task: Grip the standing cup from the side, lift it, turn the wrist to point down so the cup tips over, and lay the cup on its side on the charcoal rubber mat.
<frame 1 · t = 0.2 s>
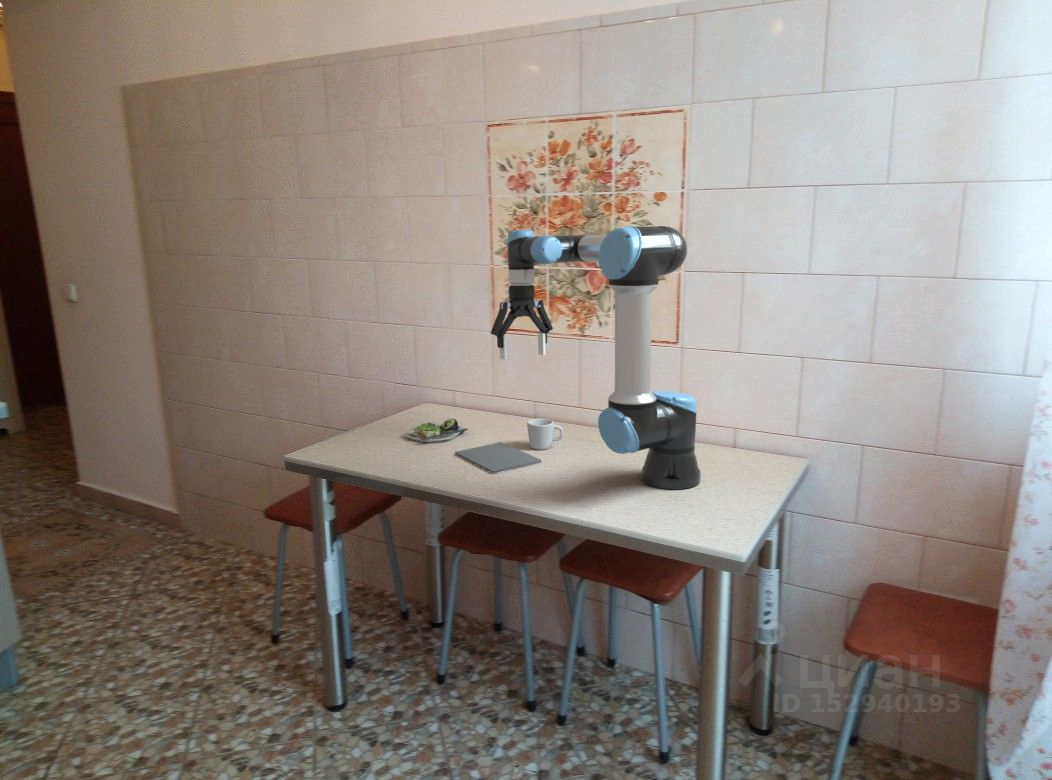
hand: (523, 356, 217), 27 cm above the table, tool pointing down, fingers open, 13 cm apart
avocado toast plate: (436, 436, 234), on the table
cup: (545, 448, 220), on the table
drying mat: (497, 458, 210), on the table
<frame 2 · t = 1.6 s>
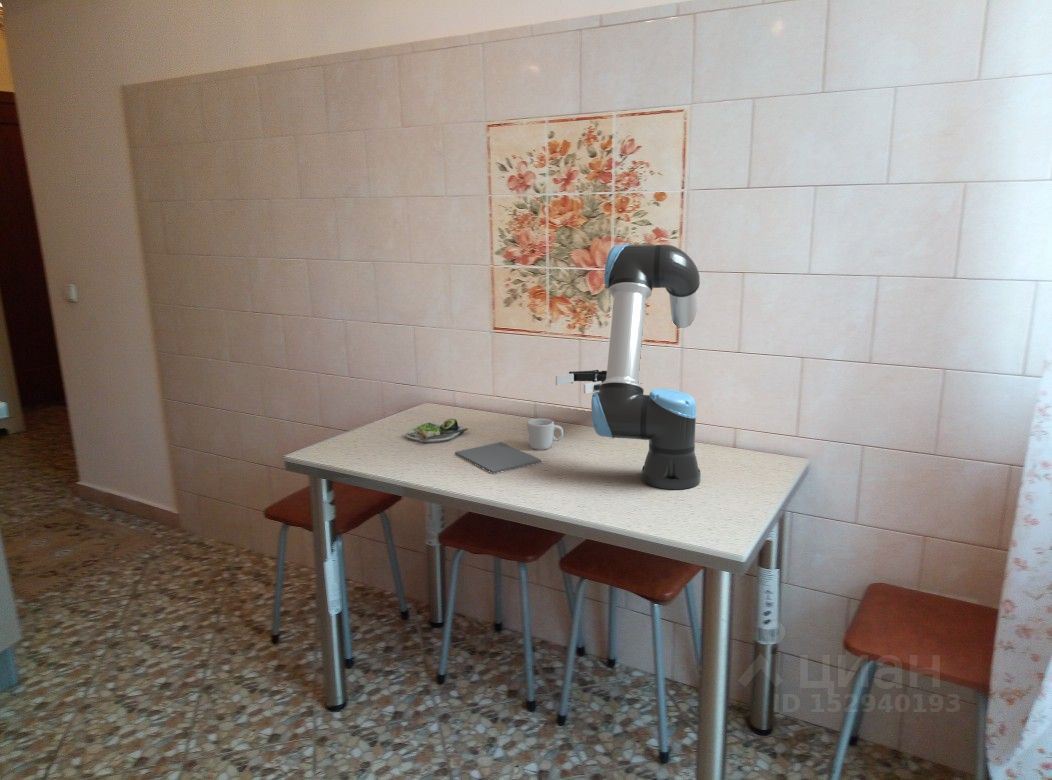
hand: (570, 384, 220), 18 cm above the table, tool horizontal, fingers open, 13 cm apart
nothing on the table moved.
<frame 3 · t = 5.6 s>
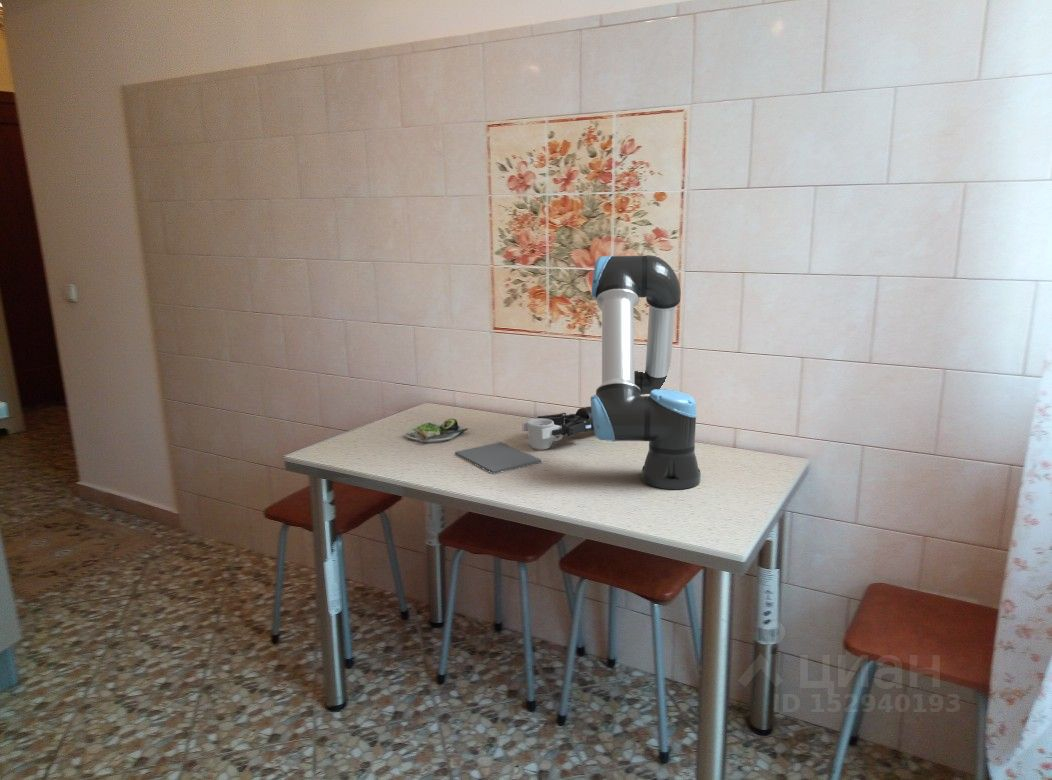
hand: (532, 430, 216), 6 cm above the table, tool horizontal, fingers open, 9 cm apart
cup: (545, 448, 219), on the table, touching gripper
everything else where it was.
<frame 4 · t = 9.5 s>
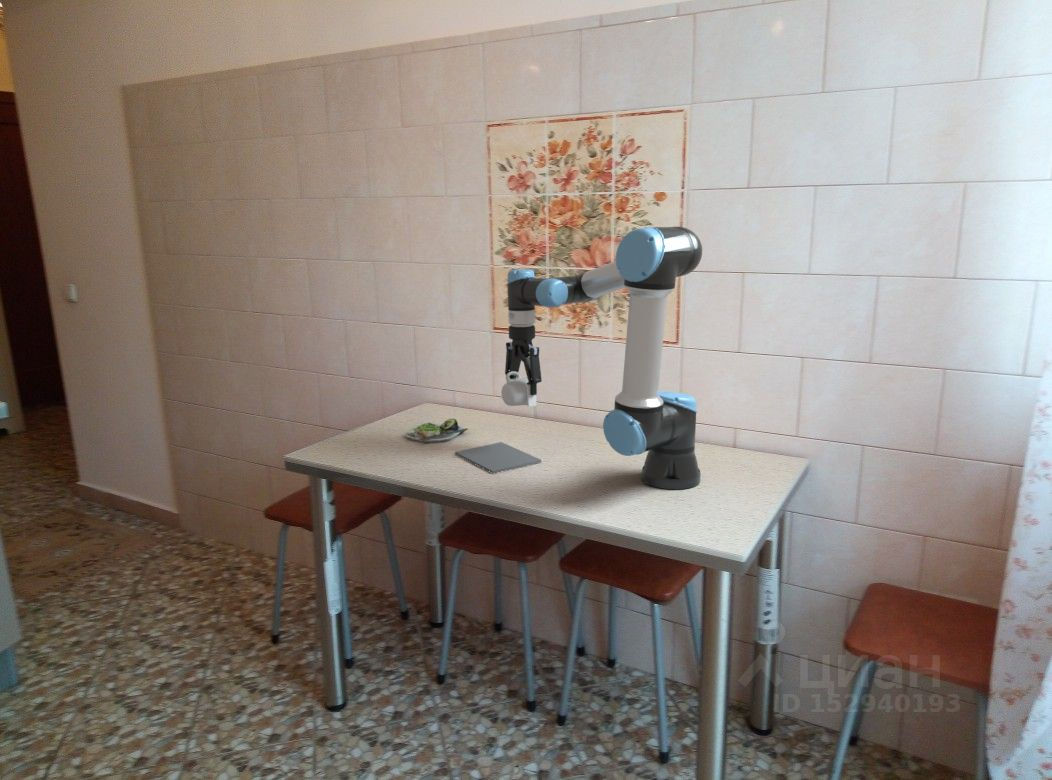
hand: (523, 402, 212), 15 cm above the table, tool pointing down, fingers closed on cup, 8 cm apart
cup: (503, 390, 208), point 19 cm above the table, touching gripper
everything else where it was.
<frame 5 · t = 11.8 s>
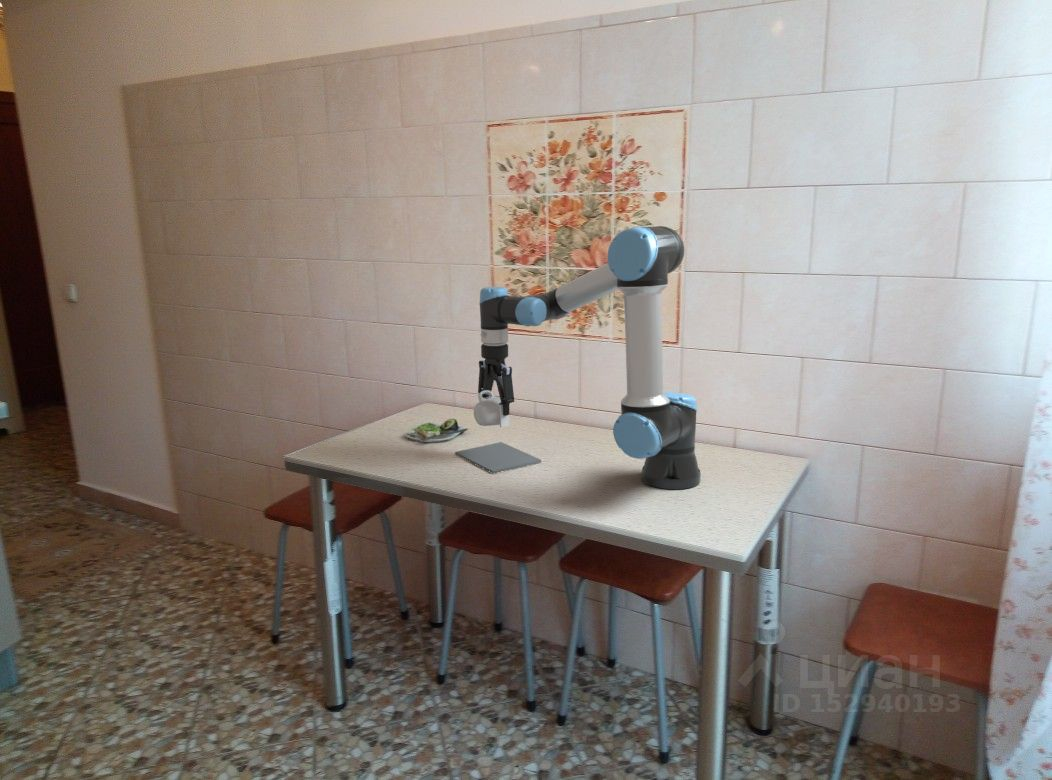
hand: (496, 422, 208), 11 cm above the table, tool pointing down, fingers closed on cup, 8 cm apart
cup: (475, 410, 204), point 15 cm above the table, touching gripper
everything else where it was.
when the fingers open (3 cm above the table, at t = 13.6 s): cup drops 2 cm, resting on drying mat.
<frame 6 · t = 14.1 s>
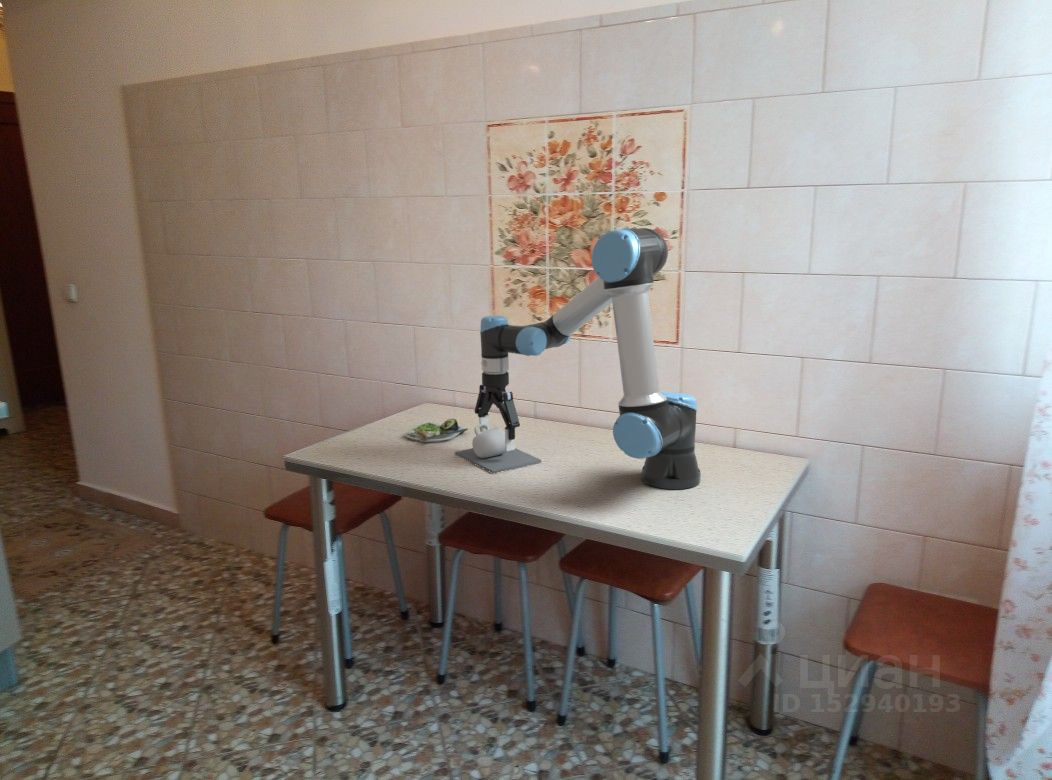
hand: (497, 444, 209), 4 cm above the table, tool pointing down, fingers open, 13 cm apart
cup: (473, 444, 207), point 5 cm above the table, touching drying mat, gripper
everything else where it was.
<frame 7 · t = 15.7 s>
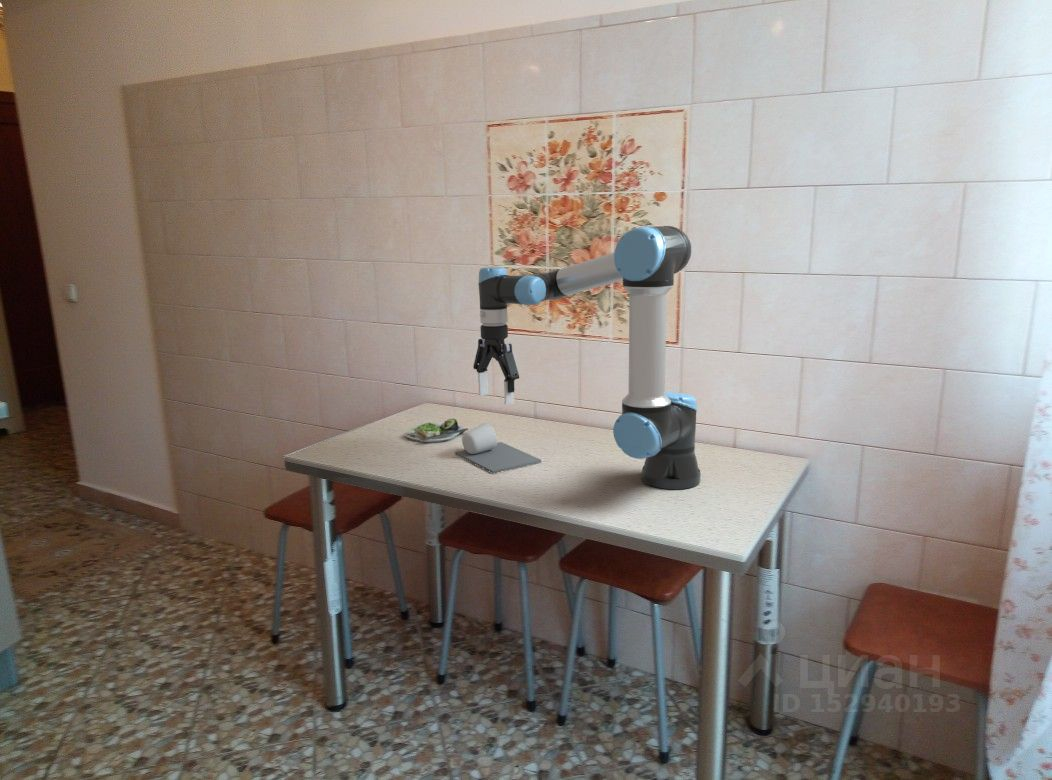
hand: (496, 399, 206), 18 cm above the table, tool pointing down, fingers open, 13 cm apart
cup: (464, 445, 211), point 3 cm above the table, touching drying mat
everything else where it was.
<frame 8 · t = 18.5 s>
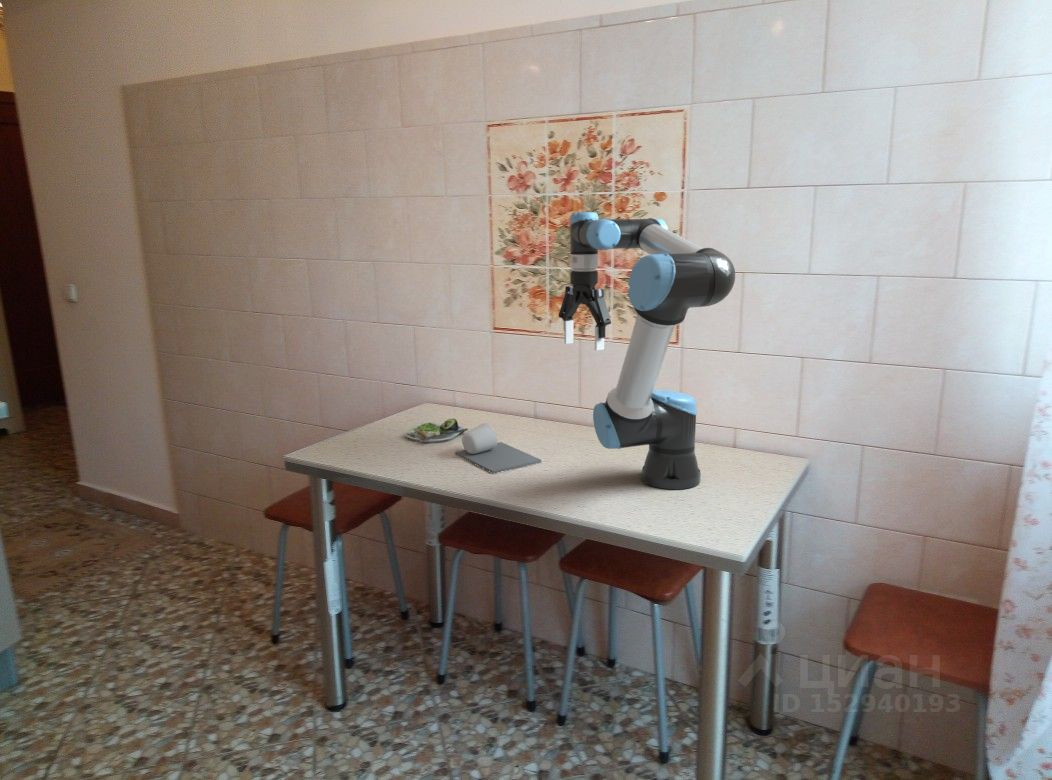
hand: (583, 346, 205), 32 cm above the table, tool pointing down, fingers open, 13 cm apart
nothing on the table moved.
at the end: cup tilted 84°; cup 9.6 cm from the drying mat (horizontally); the gripper is holding nothing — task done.
